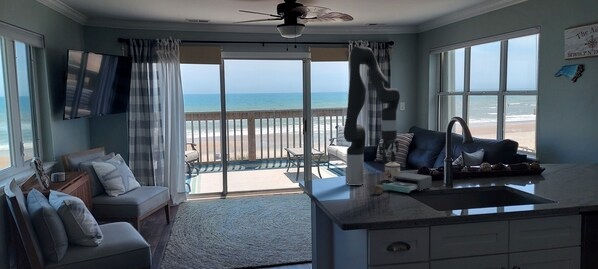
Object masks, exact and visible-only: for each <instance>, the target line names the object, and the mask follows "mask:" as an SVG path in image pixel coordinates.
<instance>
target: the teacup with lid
mask: <svg viewBox="0 0 598 269" xmlns="http://www.w3.org/2000/svg"><path fill="white" fill-rule="evenodd" d="M398 174H401V164H400V163H397V161H395V162H391V161H389V162H387V164H384V180H385V179H386V180H393V176H395V175H398ZM386 180H385V181H386Z"/></svg>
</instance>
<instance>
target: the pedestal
mask: <svg viewBox="0 0 598 269" xmlns="http://www.w3.org/2000/svg"><path fill="white" fill-rule="evenodd" d="M373 191H374V192H373V194H374V193H378V194H380V195H382V194H383V184H375V185H374V186H373ZM381 193H382V194H381Z"/></svg>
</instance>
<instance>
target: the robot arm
mask: <svg viewBox="0 0 598 269" xmlns="http://www.w3.org/2000/svg"><path fill="white" fill-rule="evenodd" d="M350 50H351V51H350V56H349V57H350V58H349V69H350V70H349V86H348V87H349V88H348V96H347V108H346V117H345V123H344V127H343V138H344V141H346V142H347V143H350V144H351V145H350V146H349V147H347V149H346V167H345V184H346V183H348V184H363V183H364V184H365V168H364V167H365V162H364V161H365V160H364V158H365V157H364V153H365V152H364V151H365V148H366V129H365V128H364V126H363V125H361V124H358V118H359V115H360V113H361V110H363V107H364V105H365V102H366V95H367V88H366V85H365V83H364V81H363V79H362V76H361V70H360V68H361V65H366V66H367V67H368V68H369V80H370V83H371V84H372V85H373V88H375V93H376V96H377V99H378V101H379V102H380V103H382V104H388V106H387V107H385V108H382V109H381V123H380V130H381V133H380V134H381V136H380V137H381V138H380V139H381V140H383V141H382V142H379V143H378V148H379V151H378V152H379V156H381V158H382V161H381V162H382V164H383V165H385V164H387V163H388V153H390V162H397V161H396V159H397V157H396V156H397V153H399V143H400V142H399V140H396V139H397V138H398V126H397V123H398V122H397V112H398V106H399V103H400V97H401V95H400V92H399V90H398V89H397V88H389V86H390V85H389V84H390V83H389V80H388V79H387V78H386V76H385V74H384V73H383V72H382V70H381V68H380V66H379V63H378V61H377V58H376V56H375V53H374V51H373V50H372V49H371V48H370V47H367V46H357V45H355V46H353V47H352V49H350Z"/></svg>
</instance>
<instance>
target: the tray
mask: <svg viewBox="0 0 598 269" xmlns="http://www.w3.org/2000/svg"><path fill="white" fill-rule="evenodd" d="M395 183H404V182H393V181H392V182H391V183H385V182H384V183H382V190H389V191H393V192H394V191H395V192H402V193H407V194H409V193H411V192H412V191H415V190H414V189H417V188H418V184H411V183H407V184H408V187H405V186H398V185H395Z"/></svg>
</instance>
